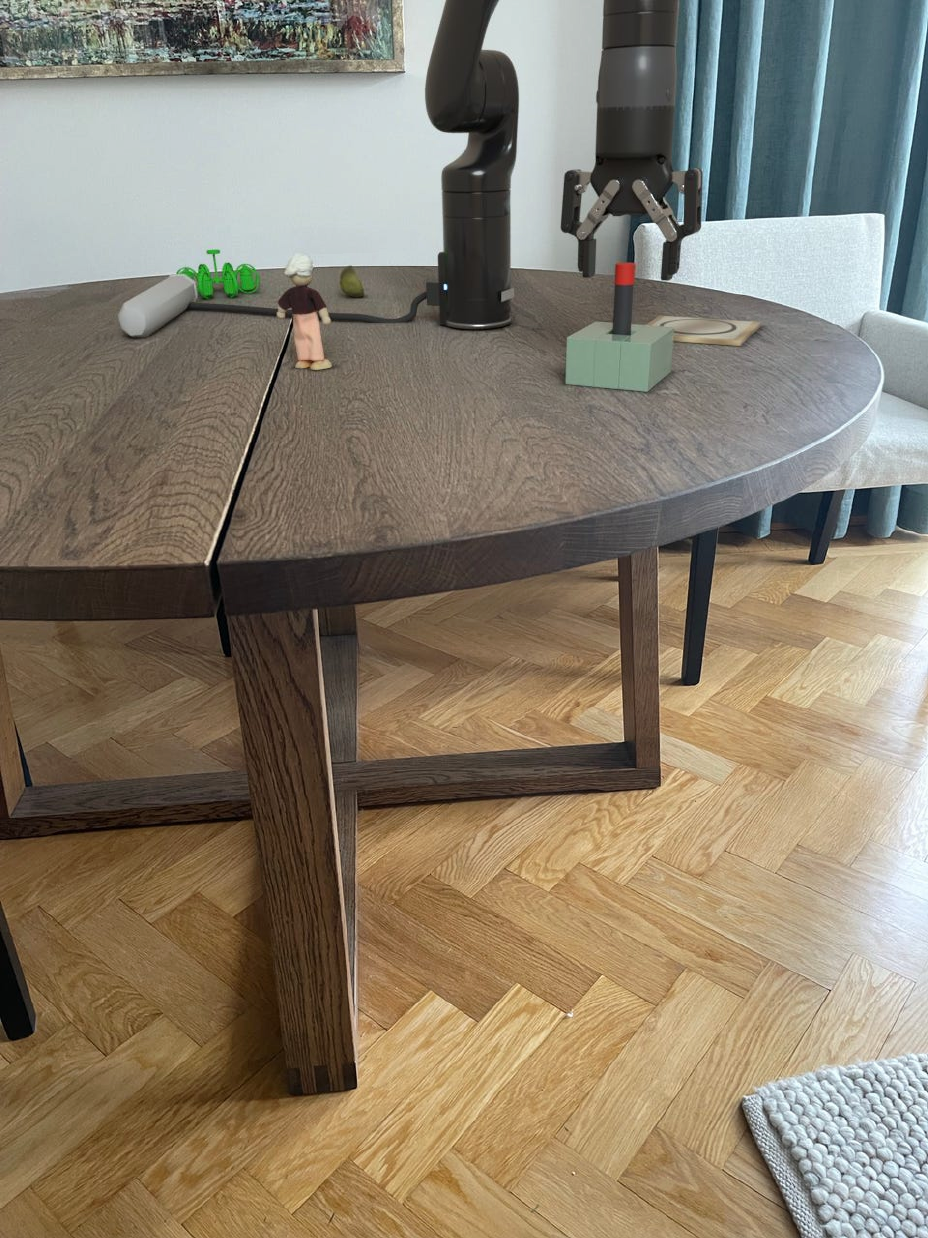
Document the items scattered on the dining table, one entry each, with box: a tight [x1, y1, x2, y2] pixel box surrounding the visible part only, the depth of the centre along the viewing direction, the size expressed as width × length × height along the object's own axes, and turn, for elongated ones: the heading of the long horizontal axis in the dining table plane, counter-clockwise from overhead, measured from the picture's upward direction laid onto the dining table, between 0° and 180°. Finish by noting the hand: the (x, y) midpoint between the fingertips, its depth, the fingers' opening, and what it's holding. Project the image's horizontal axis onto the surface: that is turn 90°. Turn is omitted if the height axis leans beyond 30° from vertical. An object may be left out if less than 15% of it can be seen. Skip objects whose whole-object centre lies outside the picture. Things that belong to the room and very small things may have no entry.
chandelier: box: [175, 249, 261, 300], centre depth 159 cm, size 15×15×7 cm
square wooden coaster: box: [645, 315, 762, 347], centre depth 123 cm, size 14×13×1 cm
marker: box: [612, 261, 636, 336], centre depth 100 cm, size 2×2×12 cm
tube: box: [117, 273, 199, 339], centre depth 137 cm, size 5×5×25 cm
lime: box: [339, 265, 365, 298], centre depth 152 cm, size 4×5×5 cm
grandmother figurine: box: [276, 253, 333, 371], centre depth 108 cm, size 8×4×13 cm, turn 71°
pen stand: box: [565, 321, 674, 393], centre depth 102 cm, size 9×9×5 cm
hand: (626, 278), depth 98 cm, fingers open, 8 cm apart
